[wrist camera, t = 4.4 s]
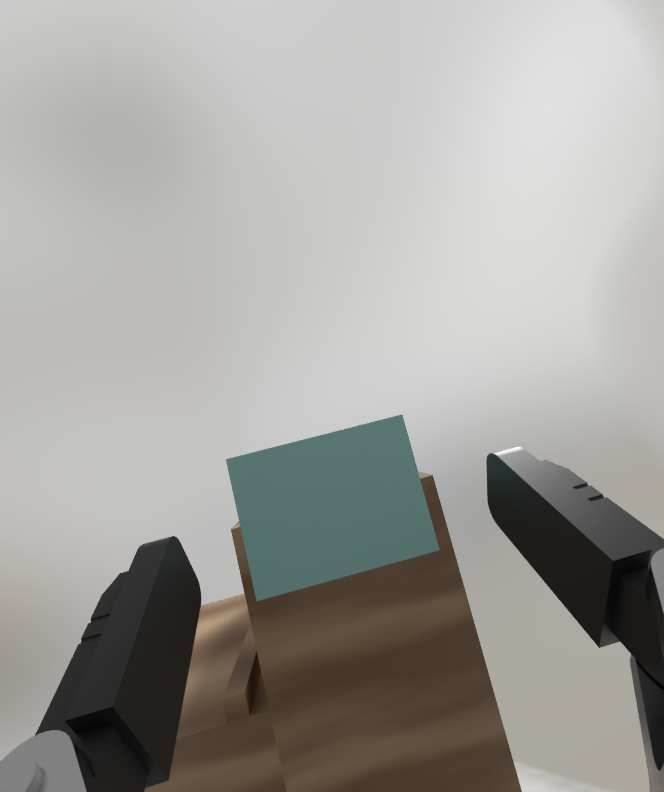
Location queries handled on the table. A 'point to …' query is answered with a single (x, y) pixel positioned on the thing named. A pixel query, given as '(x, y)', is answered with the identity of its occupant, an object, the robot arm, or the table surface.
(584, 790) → the table surface
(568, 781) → the table surface
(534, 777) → the table surface
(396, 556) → the block
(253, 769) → the stand
